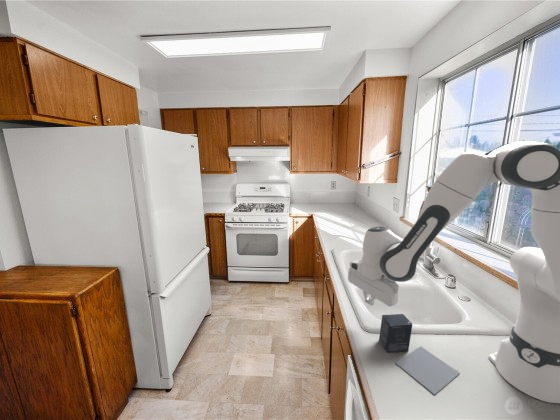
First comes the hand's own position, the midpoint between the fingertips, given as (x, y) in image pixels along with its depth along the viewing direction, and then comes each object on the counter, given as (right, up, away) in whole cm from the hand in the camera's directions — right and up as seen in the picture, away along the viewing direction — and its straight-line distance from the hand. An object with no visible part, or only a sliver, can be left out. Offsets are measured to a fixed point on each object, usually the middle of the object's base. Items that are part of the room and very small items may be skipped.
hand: (369, 303), depth 92 cm
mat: (+12, -14, -16) cm, 25 cm away
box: (+6, -12, -8) cm, 15 cm away
